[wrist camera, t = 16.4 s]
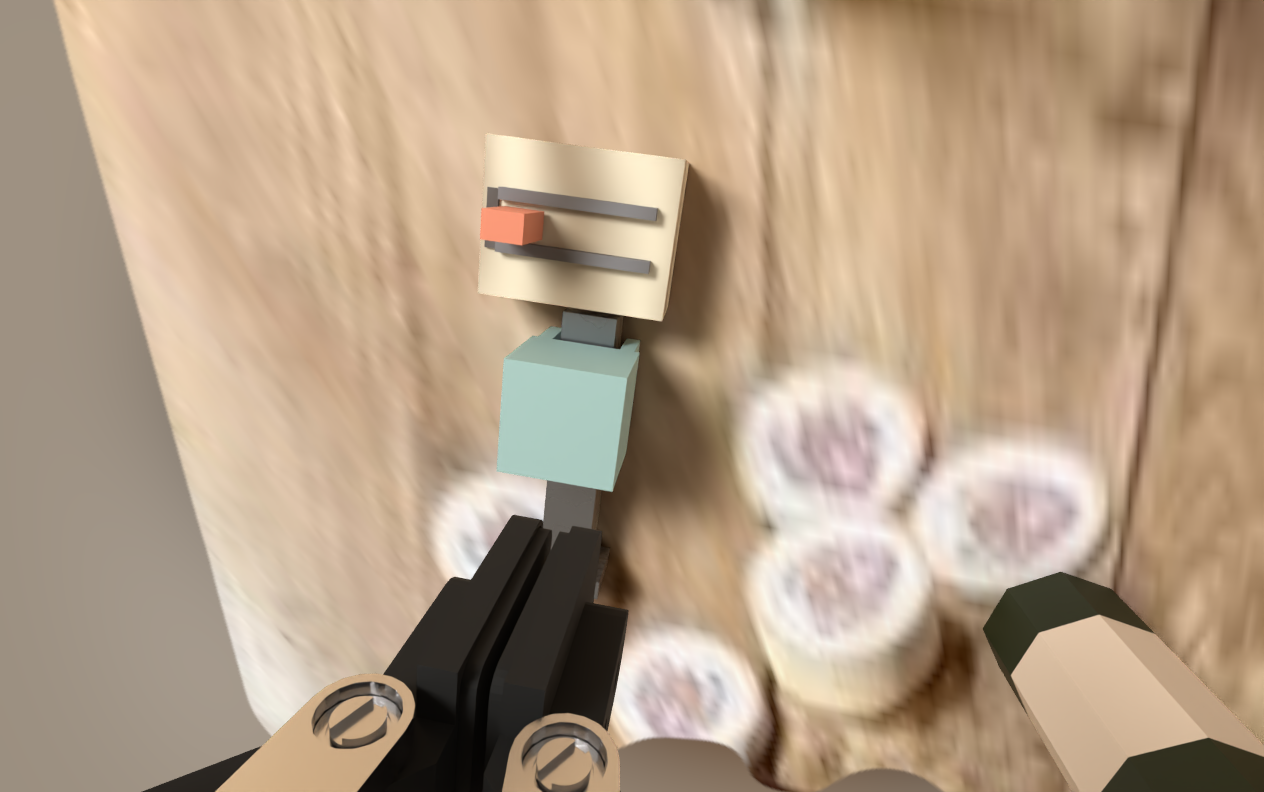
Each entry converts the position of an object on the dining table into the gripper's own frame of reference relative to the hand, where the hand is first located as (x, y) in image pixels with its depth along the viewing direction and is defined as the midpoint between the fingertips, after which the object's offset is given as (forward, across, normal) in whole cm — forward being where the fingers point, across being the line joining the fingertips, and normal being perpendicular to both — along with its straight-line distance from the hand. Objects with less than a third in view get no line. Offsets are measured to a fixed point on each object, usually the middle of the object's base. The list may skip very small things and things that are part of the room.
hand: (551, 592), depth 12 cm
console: (+27, +5, -4) cm, 28 cm away
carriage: (+27, +4, +4) cm, 28 cm away
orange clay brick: (+23, +8, -5) cm, 24 cm away
